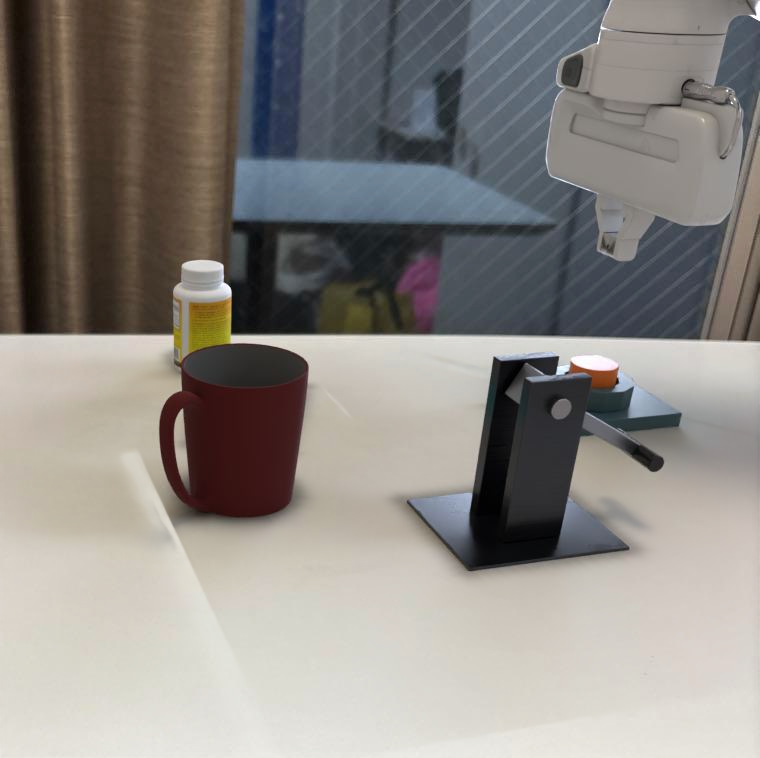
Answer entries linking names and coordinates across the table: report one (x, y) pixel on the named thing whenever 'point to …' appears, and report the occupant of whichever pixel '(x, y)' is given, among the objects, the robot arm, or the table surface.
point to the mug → (237, 428)
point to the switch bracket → (523, 476)
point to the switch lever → (597, 427)
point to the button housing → (627, 406)
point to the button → (596, 369)
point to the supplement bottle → (200, 309)
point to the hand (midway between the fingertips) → (614, 256)
